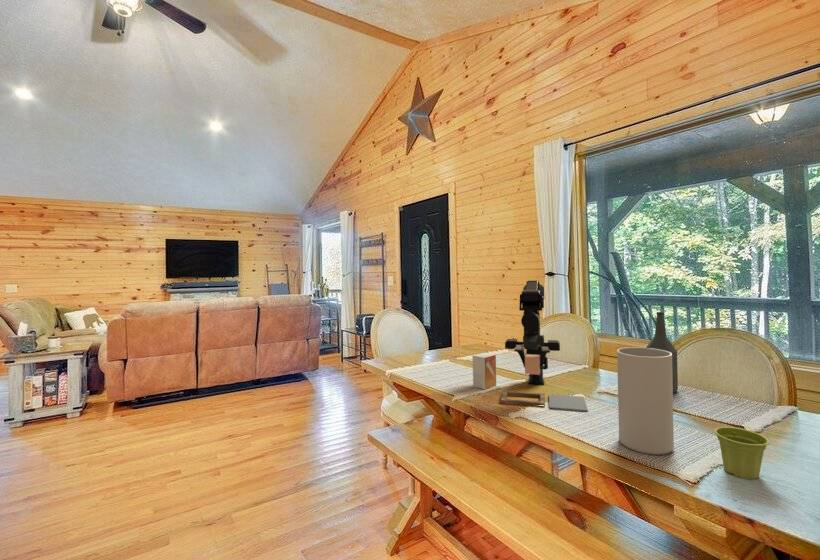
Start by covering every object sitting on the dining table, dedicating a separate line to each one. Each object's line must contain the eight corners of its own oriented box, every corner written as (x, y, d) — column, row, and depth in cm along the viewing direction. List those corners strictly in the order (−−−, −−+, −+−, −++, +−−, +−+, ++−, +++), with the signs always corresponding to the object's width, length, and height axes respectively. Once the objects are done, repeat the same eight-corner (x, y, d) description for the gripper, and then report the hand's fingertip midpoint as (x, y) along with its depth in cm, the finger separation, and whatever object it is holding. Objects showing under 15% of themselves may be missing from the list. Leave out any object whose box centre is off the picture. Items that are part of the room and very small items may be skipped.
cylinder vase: (628, 431, 112) (627, 345, 112) (679, 444, 103) (678, 351, 102) (611, 445, 104) (609, 352, 103) (665, 461, 94) (663, 359, 94)
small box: (485, 389, 155) (484, 357, 155) (472, 386, 160) (471, 355, 159) (497, 385, 161) (496, 354, 160) (484, 382, 165) (483, 352, 165)
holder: (503, 393, 149) (503, 390, 149) (544, 396, 144) (544, 393, 144) (500, 403, 139) (500, 400, 139) (544, 406, 134) (544, 403, 134)
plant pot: (758, 466, 91) (758, 430, 90) (777, 487, 82) (777, 447, 82) (709, 459, 94) (709, 424, 94) (723, 479, 86) (722, 440, 86)
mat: (549, 395, 145) (549, 394, 145) (583, 398, 141) (583, 396, 141) (549, 408, 132) (549, 407, 132) (587, 411, 128) (587, 410, 128)
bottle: (677, 387, 150) (676, 310, 149) (678, 395, 142) (676, 313, 141) (646, 384, 156) (644, 310, 155) (645, 391, 147) (643, 312, 147)
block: (526, 370, 143) (525, 354, 143) (540, 371, 142) (539, 354, 141) (525, 373, 139) (524, 357, 139) (539, 374, 137) (539, 357, 137)
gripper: (502, 328, 135) (503, 372, 136) (559, 329, 129) (560, 375, 129) (506, 323, 146) (507, 364, 146) (559, 324, 139) (560, 367, 140)
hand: (532, 368), depth 140 cm, fingers closed on block, 5 cm apart
